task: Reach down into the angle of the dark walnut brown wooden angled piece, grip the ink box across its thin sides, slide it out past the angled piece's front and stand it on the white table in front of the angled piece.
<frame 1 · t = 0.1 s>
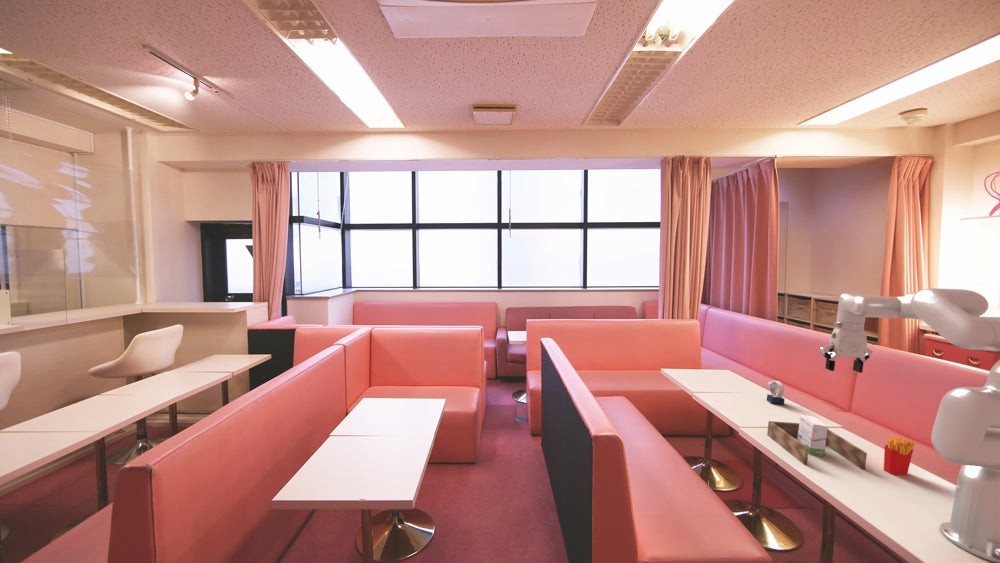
hand: (843, 370, 135), 31 cm above the table, tool pointing down, fingers open, 9 cm apart
brown wooden angled piece: (812, 450, 136), on the table
watch: (774, 402, 179), on the table
french fries: (895, 472, 124), on the table
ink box: (809, 449, 137), on the table
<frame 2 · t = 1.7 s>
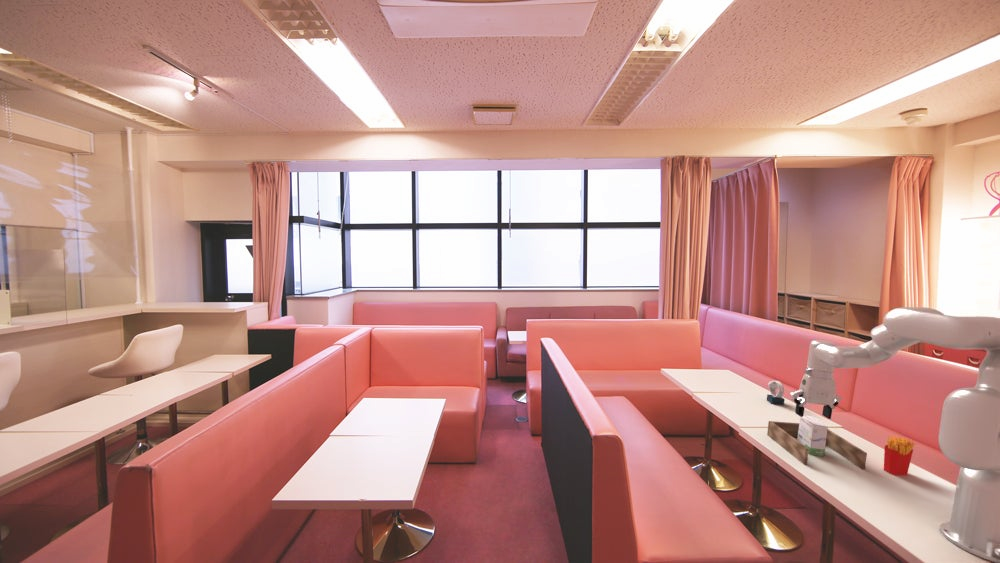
hand: (812, 416, 136), 13 cm above the table, tool pointing down, fingers open, 9 cm apart
nothing on the table moved.
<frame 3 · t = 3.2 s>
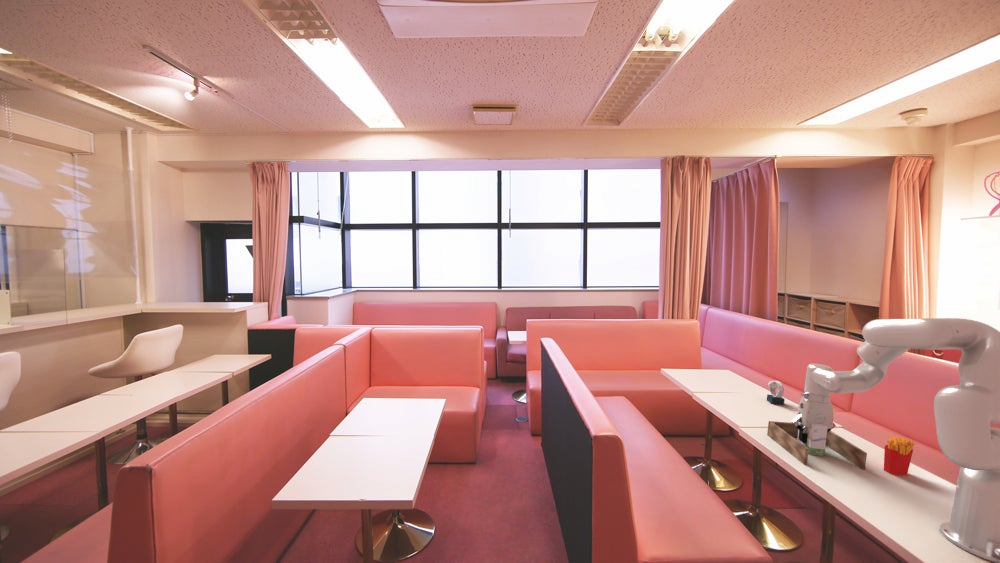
hand: (811, 441, 137), 3 cm above the table, tool pointing down, fingers closed on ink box, 5 cm apart
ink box: (810, 449, 137), on the table, touching gripper
everything else where it was.
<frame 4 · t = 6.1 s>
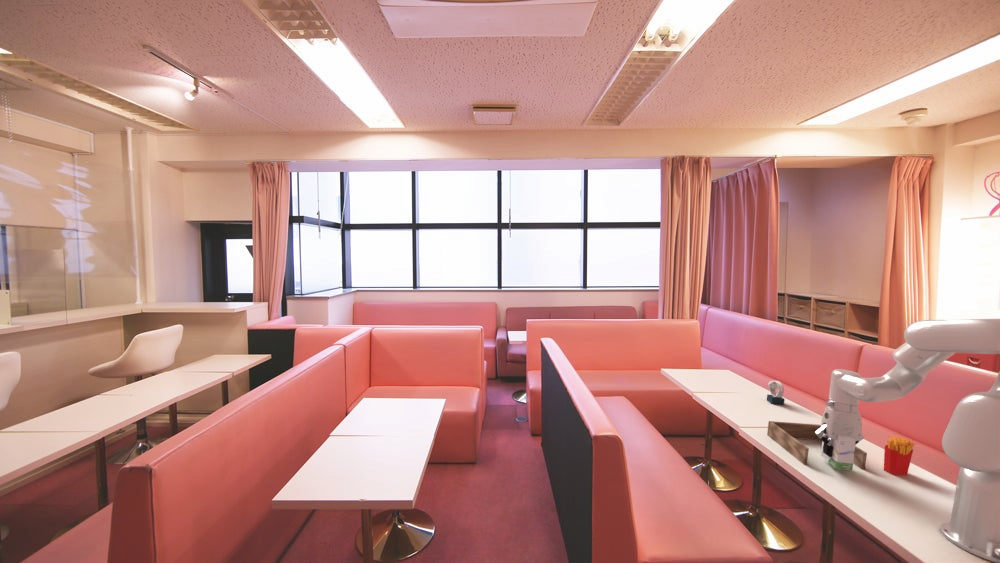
hand: (836, 455, 125), 5 cm above the table, tool pointing down, fingers closed on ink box, 5 cm apart
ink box: (835, 463, 126), point 1 cm above the table, touching gripper
everything else where it was.
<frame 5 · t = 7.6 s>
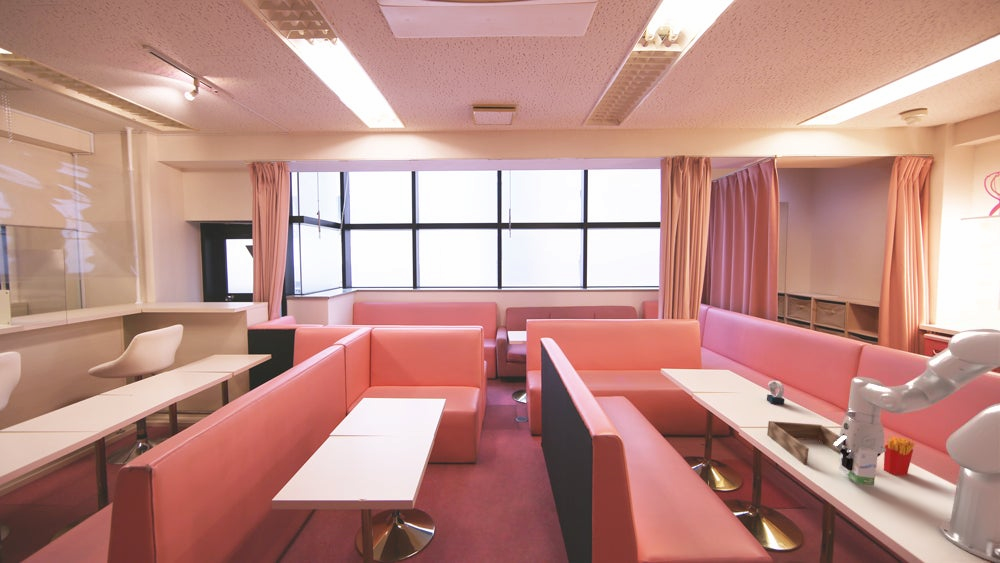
hand: (856, 468, 118), 5 cm above the table, tool pointing down, fingers closed on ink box, 5 cm apart
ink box: (855, 477, 118), point 2 cm above the table, touching gripper
everything else where it was.
when the fingers open (3 cm above the table, at t = 8.9 s): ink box stays where it is, on the table.
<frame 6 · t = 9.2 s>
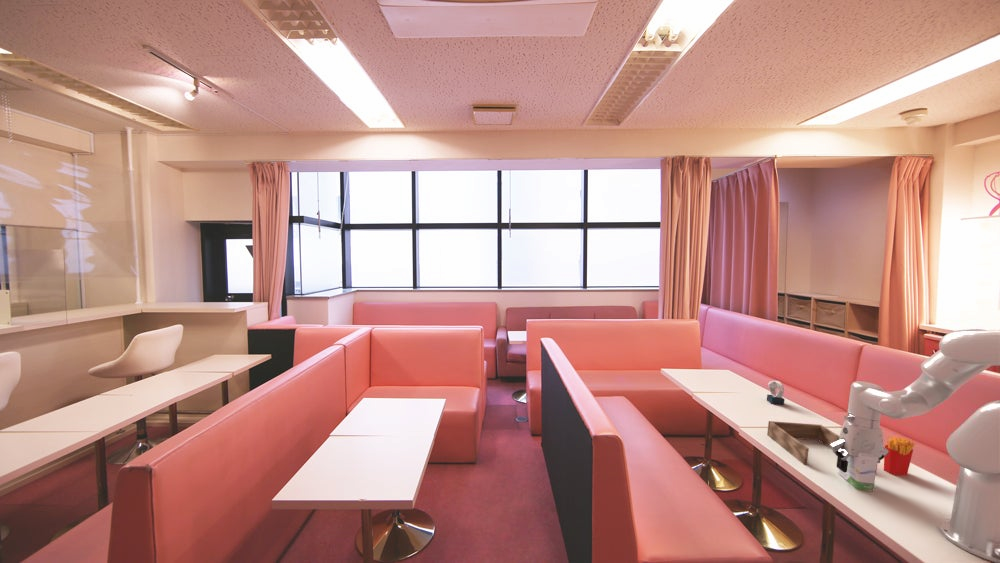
hand: (855, 470, 118), 4 cm above the table, tool pointing down, fingers open, 8 cm apart
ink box: (854, 482, 118), on the table
everything else where it was.
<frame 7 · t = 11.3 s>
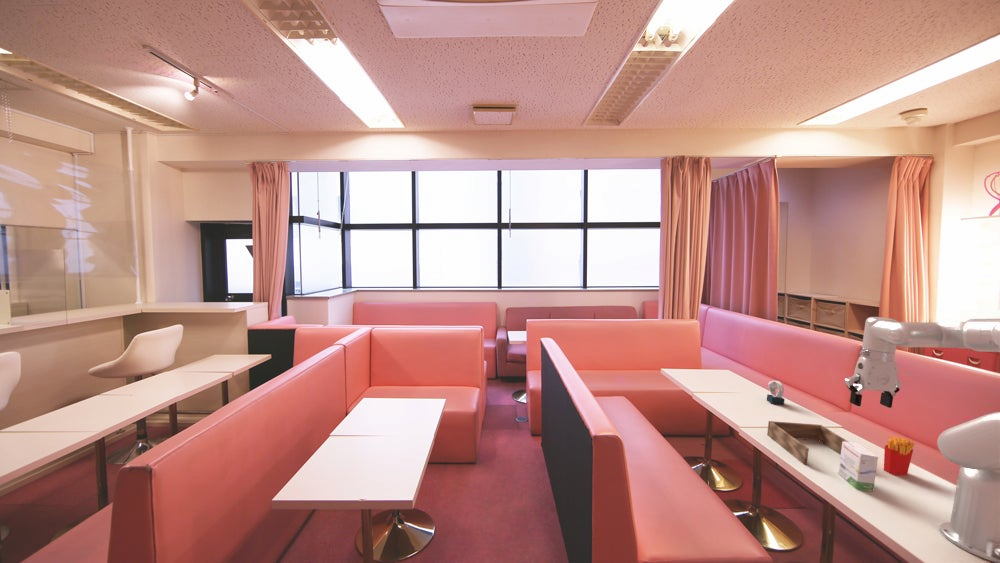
hand: (870, 405, 118), 25 cm above the table, tool pointing down, fingers open, 9 cm apart
nothing on the table moved.
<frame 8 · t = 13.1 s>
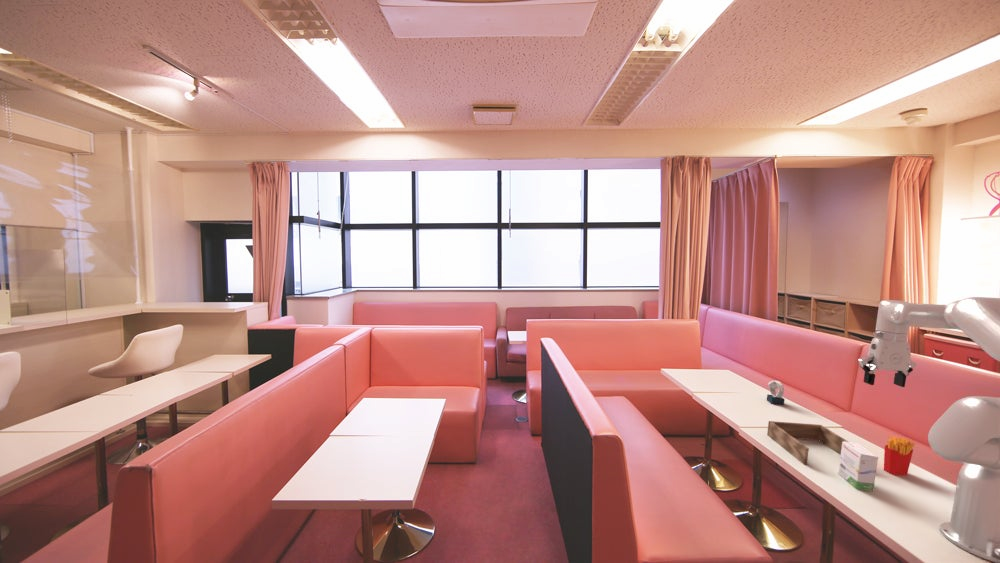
hand: (883, 384, 124), 30 cm above the table, tool pointing down, fingers open, 9 cm apart
nothing on the table moved.
at the end: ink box inside the target area (0.2 cm from its centre), on the table; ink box tilted 0°; the gripper is holding nothing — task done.
